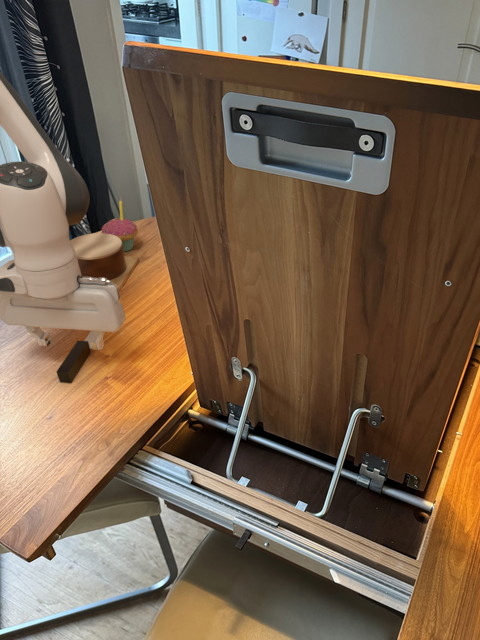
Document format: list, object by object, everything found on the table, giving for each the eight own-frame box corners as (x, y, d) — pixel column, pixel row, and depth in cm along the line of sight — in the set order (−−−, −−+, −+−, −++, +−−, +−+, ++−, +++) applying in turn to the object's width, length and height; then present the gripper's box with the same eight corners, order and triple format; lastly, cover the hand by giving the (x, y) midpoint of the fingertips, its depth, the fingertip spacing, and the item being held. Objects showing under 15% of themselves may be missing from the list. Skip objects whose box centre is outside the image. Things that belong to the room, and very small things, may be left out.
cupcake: (122, 237, 132) (114, 190, 124) (148, 245, 129) (140, 198, 121) (97, 250, 126) (87, 202, 119) (123, 259, 123) (114, 210, 115)
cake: (57, 286, 113) (48, 257, 108) (82, 257, 123) (75, 229, 119) (119, 291, 112) (113, 261, 107) (139, 261, 123) (134, 233, 118)
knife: (72, 383, 88) (69, 372, 87) (58, 382, 88) (54, 371, 87) (112, 320, 103) (110, 310, 102) (99, 319, 103) (97, 309, 102)
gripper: (122, 268, 82) (136, 339, 91) (-2, 261, 83) (24, 331, 92) (108, 289, 77) (125, 361, 86) (-23, 280, 78) (7, 353, 87)
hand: (72, 346), depth 89 cm, fingers open, 8 cm apart
